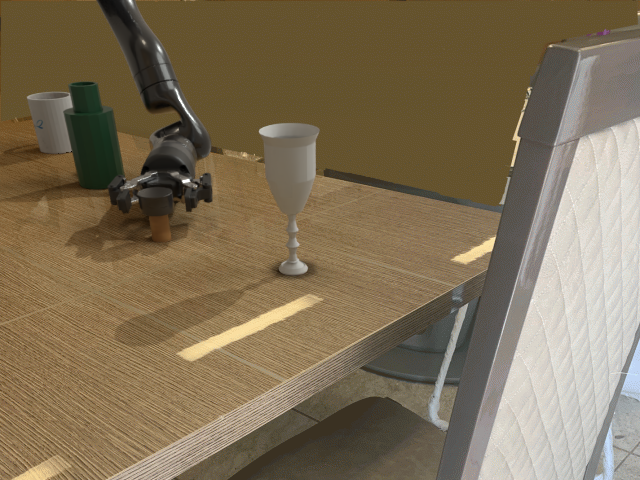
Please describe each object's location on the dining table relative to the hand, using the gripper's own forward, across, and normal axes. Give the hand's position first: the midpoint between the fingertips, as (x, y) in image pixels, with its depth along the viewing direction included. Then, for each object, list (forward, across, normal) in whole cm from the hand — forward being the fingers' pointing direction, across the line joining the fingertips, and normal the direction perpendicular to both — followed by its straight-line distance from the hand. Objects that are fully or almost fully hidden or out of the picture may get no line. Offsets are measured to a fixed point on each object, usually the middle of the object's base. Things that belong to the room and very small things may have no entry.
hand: (156, 205), depth 86 cm
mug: (-61, -29, +7) cm, 68 cm away
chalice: (+11, +18, +7) cm, 22 cm away
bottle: (-34, -15, +6) cm, 38 cm away
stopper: (-1, 0, +6) cm, 7 cm away
